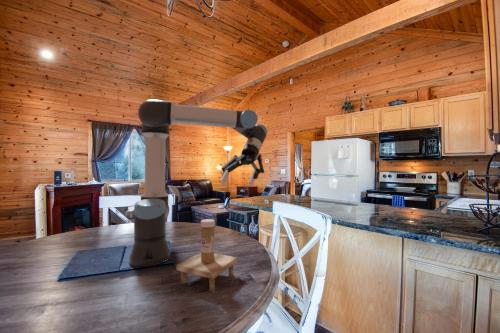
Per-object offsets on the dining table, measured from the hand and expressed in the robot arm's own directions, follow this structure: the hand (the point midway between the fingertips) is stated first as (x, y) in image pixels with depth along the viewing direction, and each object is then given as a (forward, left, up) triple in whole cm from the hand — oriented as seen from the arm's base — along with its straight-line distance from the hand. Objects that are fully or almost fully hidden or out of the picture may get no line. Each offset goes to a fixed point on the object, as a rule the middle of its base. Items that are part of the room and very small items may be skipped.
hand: (235, 183), depth 104 cm
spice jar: (+3, -24, -24) cm, 34 cm away
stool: (+3, -24, -30) cm, 38 cm away
